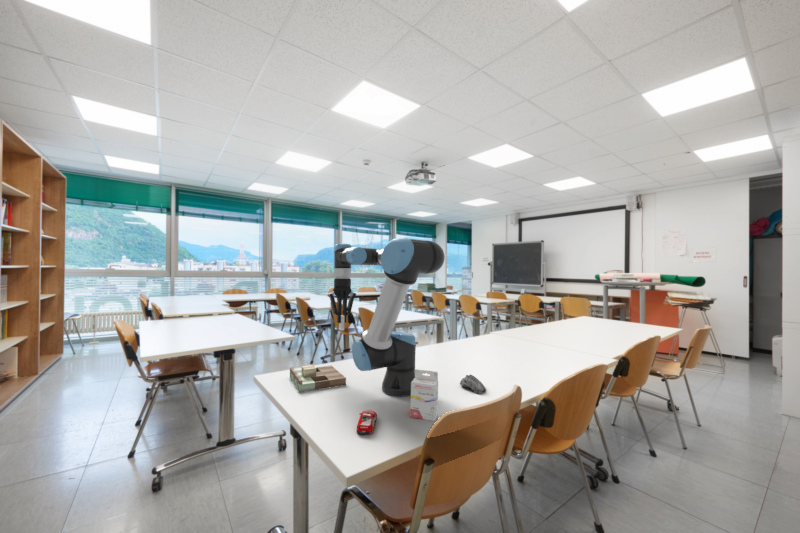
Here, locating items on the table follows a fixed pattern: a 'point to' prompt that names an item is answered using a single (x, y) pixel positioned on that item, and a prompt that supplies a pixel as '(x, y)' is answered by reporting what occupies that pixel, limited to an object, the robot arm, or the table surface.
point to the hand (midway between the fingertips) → (341, 330)
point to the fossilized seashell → (472, 384)
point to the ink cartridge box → (424, 395)
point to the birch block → (308, 371)
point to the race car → (366, 422)
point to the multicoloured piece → (317, 379)
